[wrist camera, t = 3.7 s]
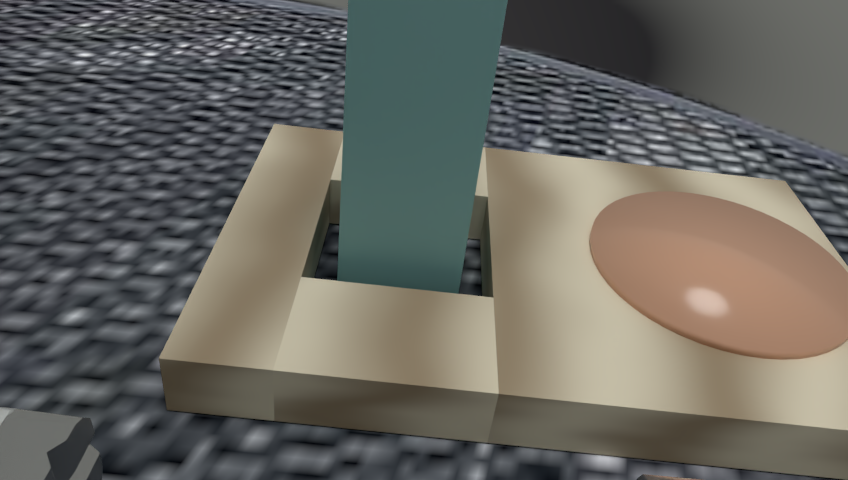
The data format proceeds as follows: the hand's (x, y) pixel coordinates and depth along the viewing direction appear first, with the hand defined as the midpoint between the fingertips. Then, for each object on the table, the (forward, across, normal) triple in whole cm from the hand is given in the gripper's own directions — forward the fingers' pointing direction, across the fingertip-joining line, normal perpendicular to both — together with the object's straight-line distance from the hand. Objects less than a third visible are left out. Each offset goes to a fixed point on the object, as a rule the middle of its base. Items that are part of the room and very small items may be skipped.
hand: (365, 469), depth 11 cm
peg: (+14, 0, +7) cm, 15 cm away
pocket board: (+14, -5, +7) cm, 16 cm away
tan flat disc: (+13, -11, +5) cm, 18 cm away
